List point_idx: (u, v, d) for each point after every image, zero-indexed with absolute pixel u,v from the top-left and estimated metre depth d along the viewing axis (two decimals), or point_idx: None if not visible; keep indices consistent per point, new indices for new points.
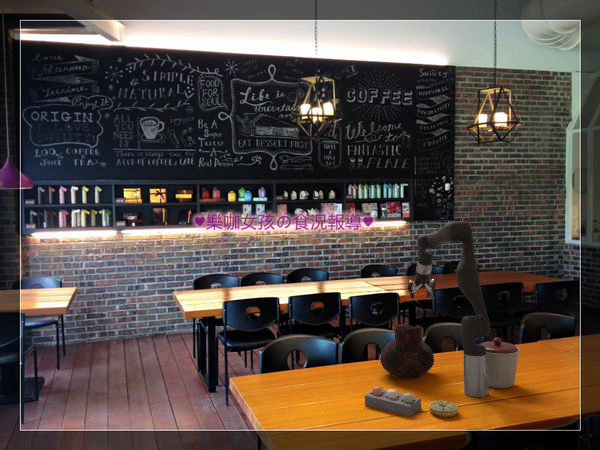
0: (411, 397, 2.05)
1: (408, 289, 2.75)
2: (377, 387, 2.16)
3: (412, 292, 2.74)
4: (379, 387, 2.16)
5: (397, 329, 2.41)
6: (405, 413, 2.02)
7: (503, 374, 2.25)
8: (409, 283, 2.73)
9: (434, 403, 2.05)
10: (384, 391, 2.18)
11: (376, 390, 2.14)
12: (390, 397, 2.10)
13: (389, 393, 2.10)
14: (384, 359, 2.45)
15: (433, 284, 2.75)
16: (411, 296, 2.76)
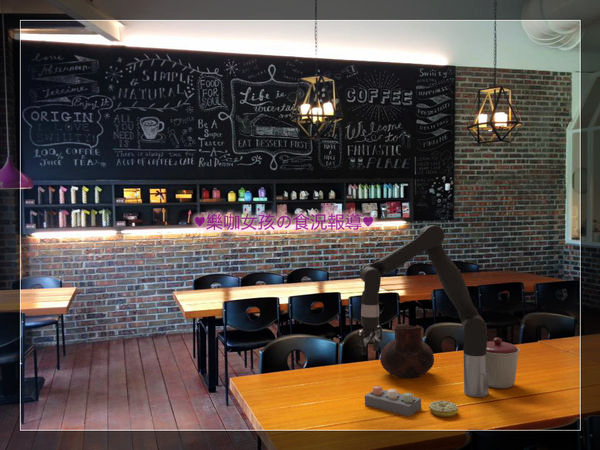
0: (411, 397, 2.05)
1: (359, 342, 2.17)
2: (377, 387, 2.16)
3: (364, 345, 2.17)
4: (379, 387, 2.16)
5: (397, 329, 2.41)
6: (405, 413, 2.02)
7: (503, 374, 2.25)
8: (359, 334, 2.17)
9: (434, 403, 2.05)
10: (384, 391, 2.18)
11: (376, 390, 2.14)
12: (390, 397, 2.10)
13: (389, 393, 2.10)
14: (384, 359, 2.45)
15: (380, 331, 2.25)
16: (363, 351, 2.18)
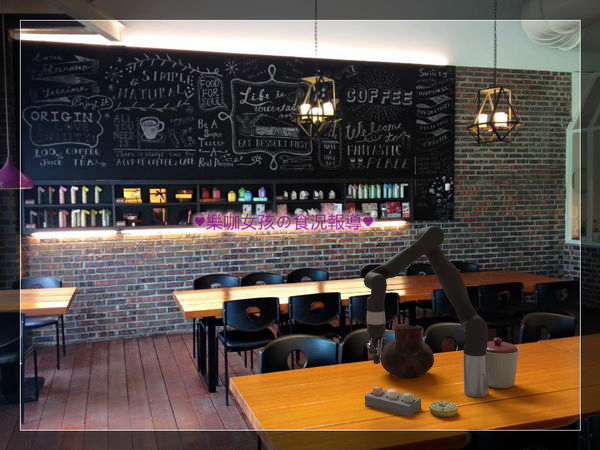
0: (411, 397, 2.05)
1: (372, 352, 2.13)
2: (377, 387, 2.16)
3: (377, 354, 2.14)
4: (379, 387, 2.16)
5: (397, 329, 2.41)
6: (405, 413, 2.02)
7: (503, 374, 2.25)
8: (369, 347, 2.11)
9: (434, 403, 2.05)
10: (384, 391, 2.18)
11: (376, 390, 2.14)
12: (390, 397, 2.10)
13: (389, 393, 2.10)
14: (384, 359, 2.45)
15: (384, 342, 2.18)
16: (376, 361, 2.14)
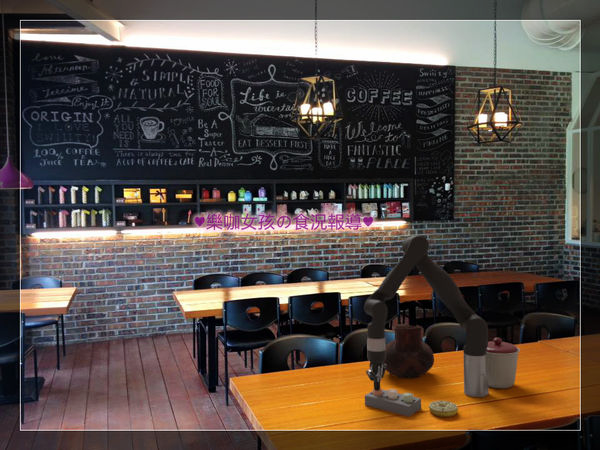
0: (411, 397, 2.05)
1: (372, 378, 2.13)
2: None
3: (377, 381, 2.14)
4: None
5: (397, 329, 2.41)
6: (405, 413, 2.02)
7: (503, 374, 2.25)
8: (369, 374, 2.12)
9: (434, 403, 2.05)
10: (384, 391, 2.18)
11: (376, 392, 2.14)
12: (390, 397, 2.10)
13: (389, 393, 2.10)
14: None
15: (384, 368, 2.18)
16: (376, 387, 2.15)
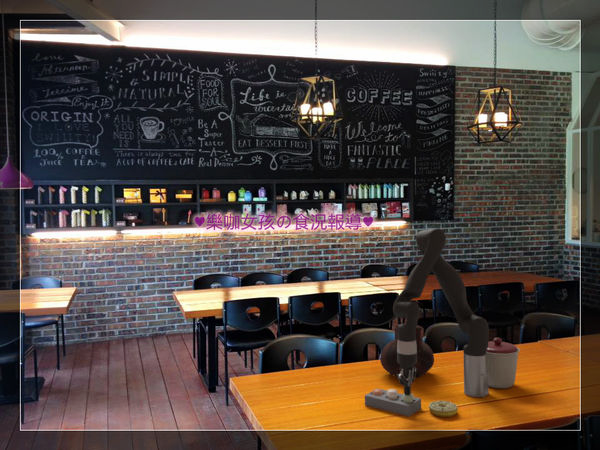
0: (411, 397, 2.05)
1: (403, 383, 2.04)
2: (377, 390, 2.16)
3: (408, 385, 2.05)
4: (379, 390, 2.16)
5: (397, 329, 2.41)
6: (405, 413, 2.02)
7: (503, 374, 2.25)
8: (400, 378, 2.02)
9: (434, 403, 2.05)
10: (384, 391, 2.18)
11: (376, 393, 2.14)
12: (390, 397, 2.10)
13: (389, 393, 2.10)
14: (384, 359, 2.45)
15: (415, 372, 2.09)
16: (407, 392, 2.06)
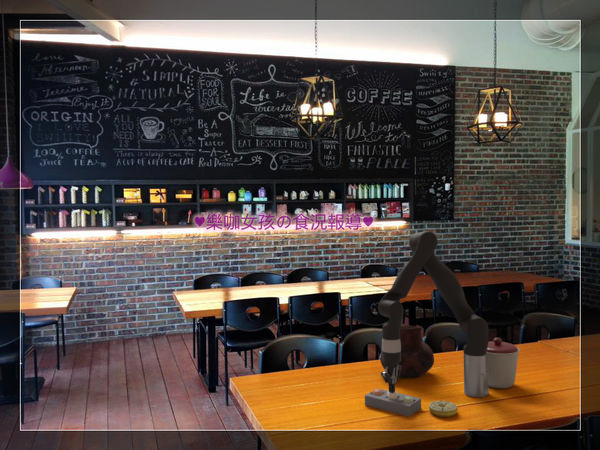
0: (411, 400, 2.05)
1: (387, 380, 2.09)
2: (377, 390, 2.16)
3: (392, 383, 2.10)
4: (379, 390, 2.16)
5: None
6: (405, 413, 2.02)
7: (503, 374, 2.25)
8: (384, 376, 2.07)
9: (433, 403, 2.05)
10: (384, 391, 2.18)
11: (376, 393, 2.14)
12: (390, 398, 2.10)
13: (389, 394, 2.10)
14: None
15: (399, 370, 2.14)
16: (391, 389, 2.10)
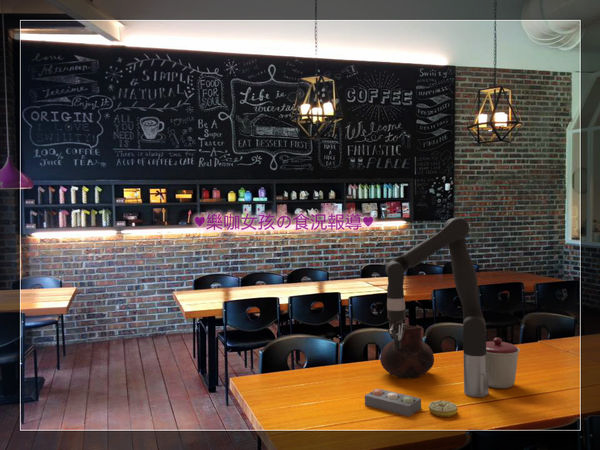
0: (411, 400, 2.05)
1: (394, 337, 2.23)
2: (377, 390, 2.16)
3: (398, 339, 2.24)
4: (379, 390, 2.16)
5: None
6: (405, 413, 2.02)
7: (503, 374, 2.25)
8: (391, 333, 2.21)
9: (433, 403, 2.05)
10: (384, 391, 2.18)
11: (376, 393, 2.14)
12: None
13: (389, 396, 2.10)
14: (384, 359, 2.45)
15: (404, 328, 2.28)
16: (397, 345, 2.24)
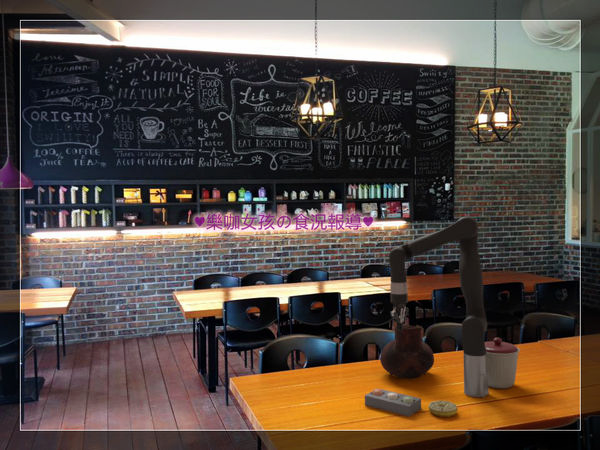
0: (411, 400, 2.05)
1: (396, 319, 2.31)
2: (377, 390, 2.16)
3: (400, 322, 2.32)
4: (379, 390, 2.16)
5: None
6: (405, 413, 2.02)
7: (503, 374, 2.25)
8: (393, 315, 2.30)
9: (433, 403, 2.05)
10: (384, 391, 2.18)
11: (376, 393, 2.14)
12: None
13: (389, 396, 2.10)
14: (384, 359, 2.45)
15: (406, 311, 2.36)
16: (399, 328, 2.33)
